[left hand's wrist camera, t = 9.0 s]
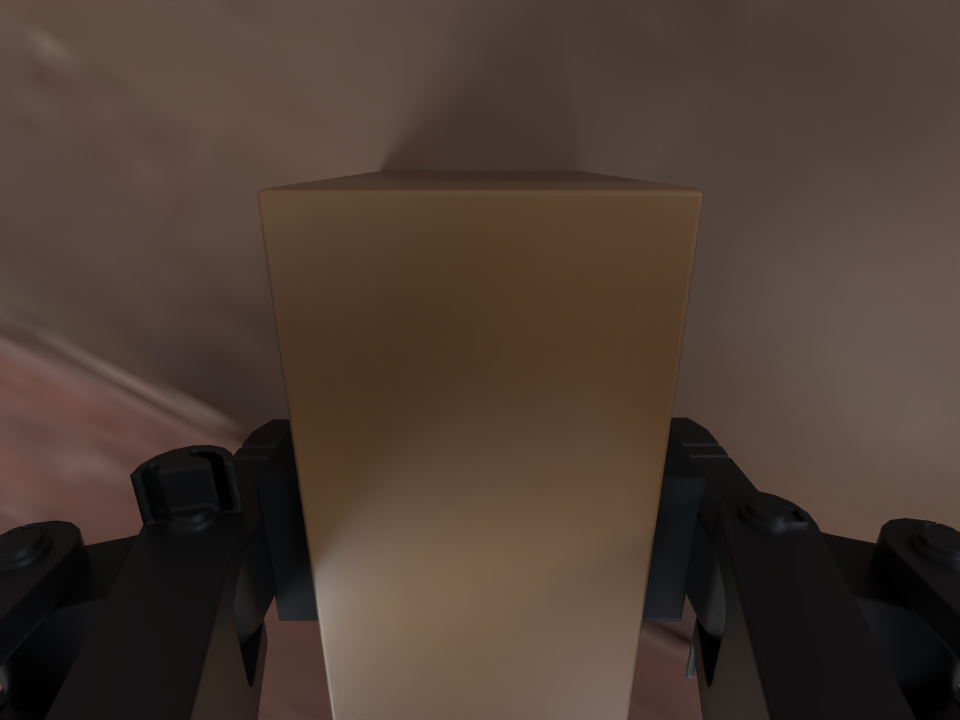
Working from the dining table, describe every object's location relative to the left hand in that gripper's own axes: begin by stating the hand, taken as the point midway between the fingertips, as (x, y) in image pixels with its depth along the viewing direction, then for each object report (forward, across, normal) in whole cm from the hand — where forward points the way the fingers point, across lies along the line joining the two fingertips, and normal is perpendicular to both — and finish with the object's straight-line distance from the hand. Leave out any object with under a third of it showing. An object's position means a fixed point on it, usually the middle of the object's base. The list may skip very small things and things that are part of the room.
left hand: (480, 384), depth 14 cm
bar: (+1, 0, -25) cm, 25 cm away
